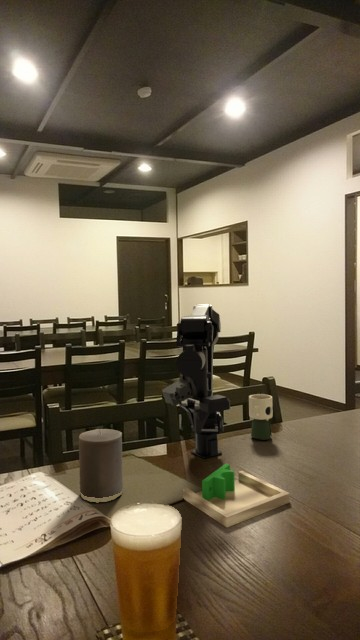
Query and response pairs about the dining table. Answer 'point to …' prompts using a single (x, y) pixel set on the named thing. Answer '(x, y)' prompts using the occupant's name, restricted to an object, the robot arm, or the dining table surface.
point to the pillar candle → (100, 463)
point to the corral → (240, 500)
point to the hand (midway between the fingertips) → (197, 433)
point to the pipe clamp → (218, 483)
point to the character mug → (260, 415)
